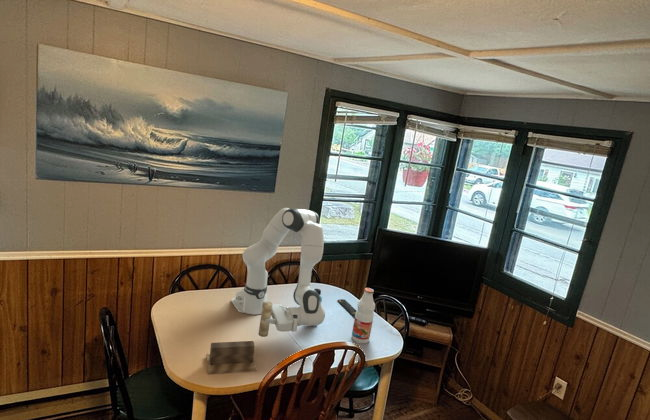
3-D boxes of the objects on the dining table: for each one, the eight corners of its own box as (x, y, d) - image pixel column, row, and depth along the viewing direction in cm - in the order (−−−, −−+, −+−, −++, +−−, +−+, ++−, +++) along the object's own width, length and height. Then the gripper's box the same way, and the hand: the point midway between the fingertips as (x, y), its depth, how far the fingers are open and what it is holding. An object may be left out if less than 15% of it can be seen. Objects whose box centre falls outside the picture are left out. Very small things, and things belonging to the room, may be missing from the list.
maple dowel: (256, 333, 196) (260, 302, 193) (264, 331, 199) (269, 300, 196) (261, 337, 193) (266, 306, 190) (269, 335, 196) (274, 304, 193)
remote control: (355, 320, 237) (355, 318, 237) (336, 301, 258) (337, 299, 258) (363, 319, 239) (363, 317, 239) (344, 301, 260) (344, 299, 260)
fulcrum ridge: (207, 374, 169) (209, 353, 167) (206, 357, 180) (208, 337, 178) (256, 370, 176) (258, 350, 174) (251, 354, 187) (253, 336, 185)
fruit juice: (372, 341, 216) (382, 291, 210) (360, 345, 209) (370, 294, 203) (359, 332, 222) (368, 284, 216) (347, 337, 216) (356, 287, 210)
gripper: (287, 300, 208) (260, 300, 203) (298, 321, 189) (268, 321, 184) (286, 312, 209) (259, 312, 204) (296, 333, 190) (267, 334, 186)
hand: (263, 317), depth 194 cm, fingers closed on maple dowel, 4 cm apart
